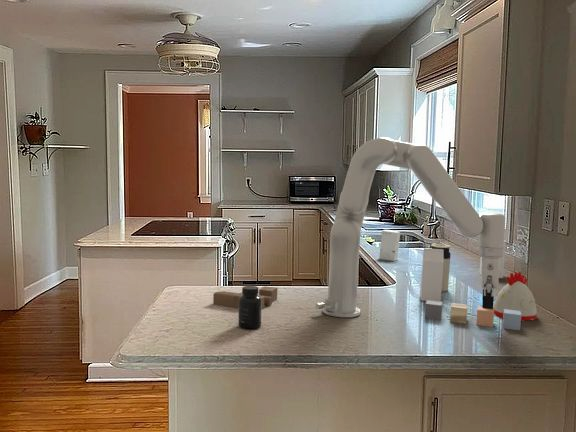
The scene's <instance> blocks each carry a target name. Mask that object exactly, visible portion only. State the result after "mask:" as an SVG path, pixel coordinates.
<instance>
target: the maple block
mask: <svg viewBox="0 0 576 432" xmlns="http://www.w3.org/2000/svg"><path fill="white" fill-rule="evenodd" d="M468 307H469V306H468V304H462V303H454V302H452V303H451V305H450V316H449V317H450V318H449V322H451V323H459V324H465V325H466V324H467V319H468Z"/></svg>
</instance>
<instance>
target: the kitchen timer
mask: <svg viewBox="0 0 576 432" xmlns="http://www.w3.org/2000/svg"><path fill="white" fill-rule="evenodd" d="M506 280H507V284H505V285H504V286H503V287H502V288H501V290H499V291H498V292H497V294H496V298H495V299H494V302H493V308H494V316H497V317H499V318H502V319H503V312H504V309H507V310H516V311H521V320H524V321H523V322H526V321H525V320H532V319H535V318H536V319H537V317H536V316H538V315H537V314H538V311H537V305H536V299H535V297H534V295H533V293H532V291H531V290H530V288H529V287H528V286H527V285H526V283H527V282H528V278H526V277H525V274H522V273H521V272H520V271H518V272H516V271H515V272H514V273H513V272H510V275H509V276H506ZM536 319H535V320H536ZM532 321H533V320H532Z"/></svg>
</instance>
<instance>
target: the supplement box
mask: <svg viewBox="0 0 576 432" xmlns="http://www.w3.org/2000/svg"><path fill="white" fill-rule="evenodd" d="M506 245H507V241H506V240H504V251H503V258H499V263H500V264H499V279H504V272H505V271H504V270H505V260H506V247H507V246H506ZM479 261H480V262H479V273H478V274H480V275H481V266H482V257H480V260H479Z"/></svg>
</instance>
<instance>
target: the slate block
mask: <svg viewBox="0 0 576 432" xmlns="http://www.w3.org/2000/svg"><path fill="white" fill-rule="evenodd" d="M521 322H522V321H521V311H516V310H507V309H504V312H503V318H502V329H505V330H506V329H507V330H514V331H521V326H522V325H521V324H522V323H521Z"/></svg>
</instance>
